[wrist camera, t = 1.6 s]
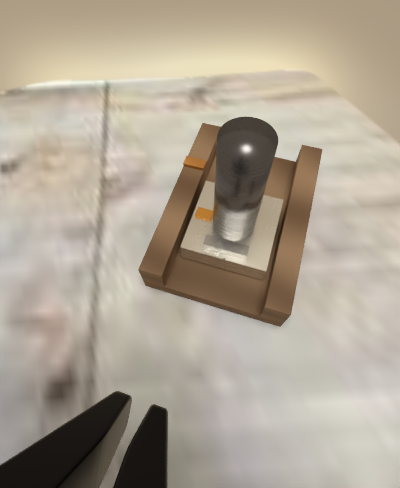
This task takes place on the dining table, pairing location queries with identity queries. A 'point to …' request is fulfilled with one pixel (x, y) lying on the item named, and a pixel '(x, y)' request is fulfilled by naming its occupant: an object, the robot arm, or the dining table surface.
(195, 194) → the walnut guide
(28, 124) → the dining table surface
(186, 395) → the dining table surface
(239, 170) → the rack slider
